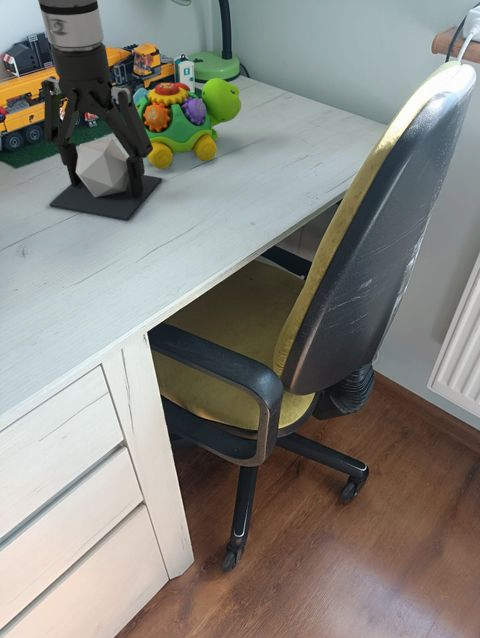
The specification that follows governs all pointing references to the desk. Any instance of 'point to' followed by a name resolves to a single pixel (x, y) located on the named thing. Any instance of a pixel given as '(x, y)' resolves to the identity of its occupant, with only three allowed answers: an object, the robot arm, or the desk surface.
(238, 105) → the turtle toy
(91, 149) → the die
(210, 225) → the desk surface
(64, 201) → the mat
